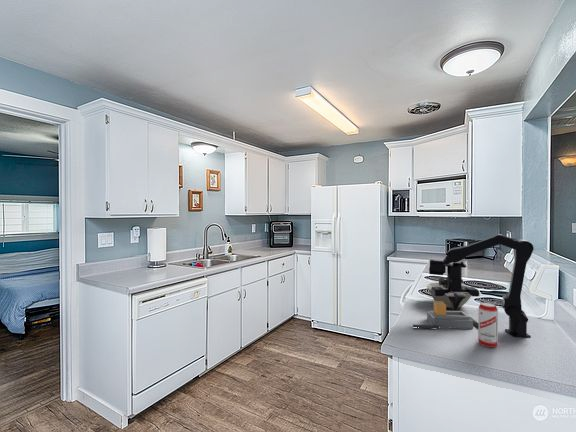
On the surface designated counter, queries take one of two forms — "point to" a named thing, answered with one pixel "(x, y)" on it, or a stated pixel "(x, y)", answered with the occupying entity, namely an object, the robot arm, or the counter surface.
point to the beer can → (488, 324)
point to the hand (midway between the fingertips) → (454, 310)
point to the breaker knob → (439, 308)
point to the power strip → (451, 319)
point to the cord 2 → (475, 322)
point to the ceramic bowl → (445, 298)
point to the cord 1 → (426, 326)
